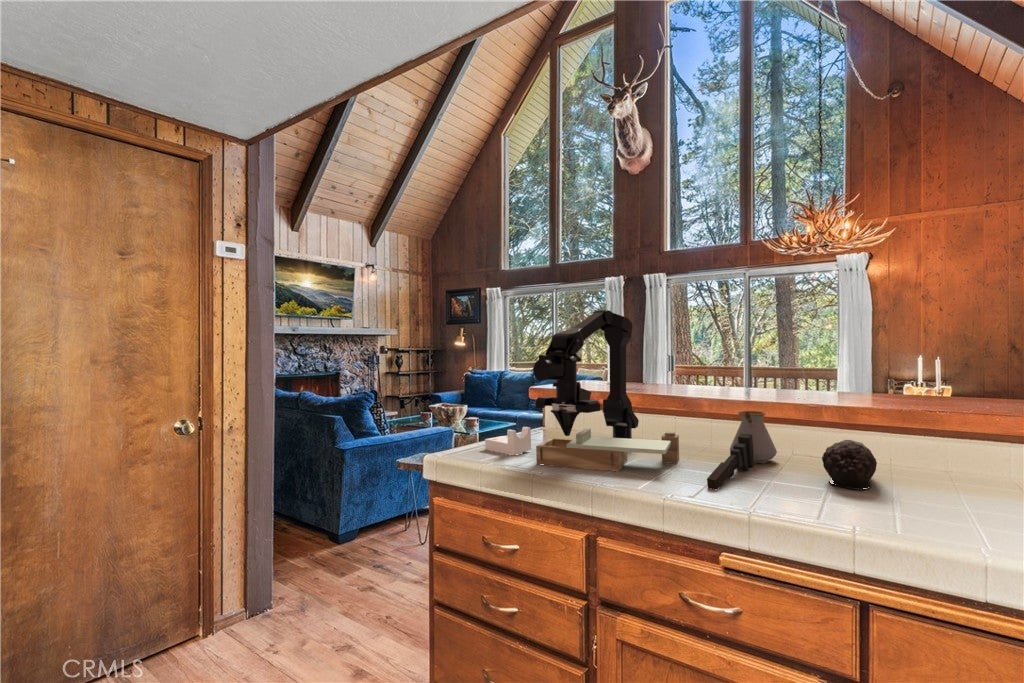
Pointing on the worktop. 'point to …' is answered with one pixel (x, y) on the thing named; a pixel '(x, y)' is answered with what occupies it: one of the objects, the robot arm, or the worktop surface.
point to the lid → (618, 444)
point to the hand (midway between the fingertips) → (567, 435)
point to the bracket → (510, 442)
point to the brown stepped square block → (671, 447)
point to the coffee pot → (756, 436)
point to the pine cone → (849, 464)
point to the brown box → (578, 456)
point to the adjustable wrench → (733, 461)
